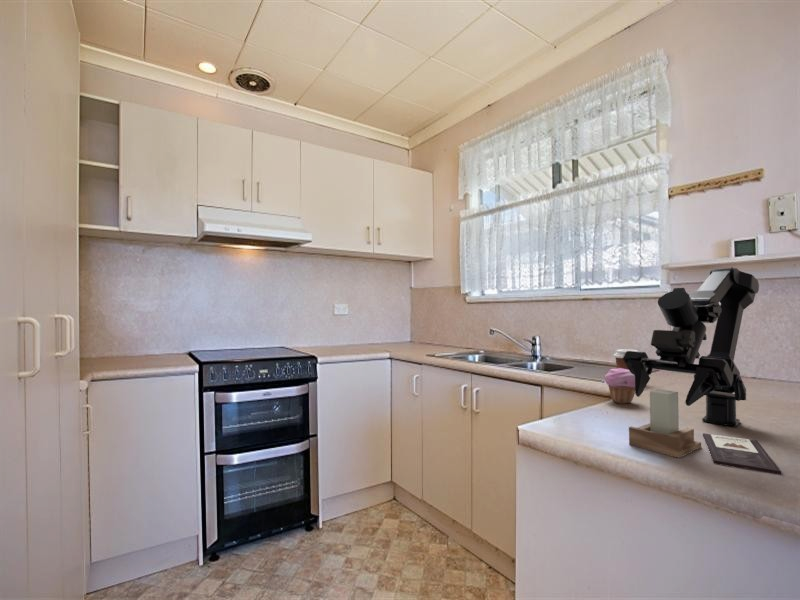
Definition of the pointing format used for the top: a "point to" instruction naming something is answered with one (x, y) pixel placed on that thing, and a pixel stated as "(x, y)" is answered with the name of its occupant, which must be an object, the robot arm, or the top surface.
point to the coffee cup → (619, 356)
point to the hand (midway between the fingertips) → (660, 399)
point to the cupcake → (621, 385)
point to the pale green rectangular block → (664, 411)
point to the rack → (664, 440)
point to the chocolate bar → (740, 453)
